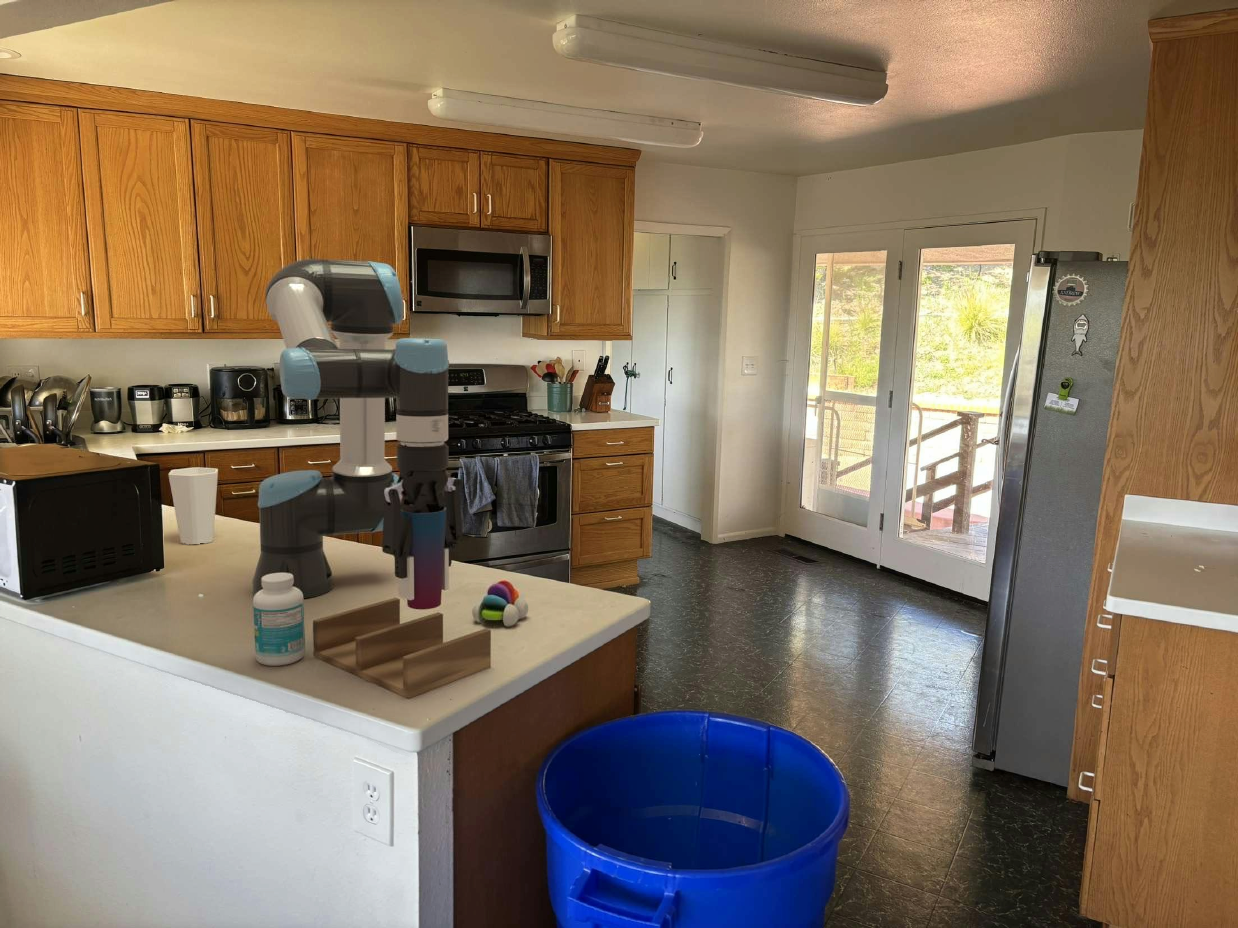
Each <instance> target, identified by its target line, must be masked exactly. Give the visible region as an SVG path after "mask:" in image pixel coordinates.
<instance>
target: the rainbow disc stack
mask: <svg viewBox="0 0 1238 928" xmlns="http://www.w3.org/2000/svg"><path fill="white" fill-rule="evenodd" d="M486 594H487V595H485V596H484V597H483V599H482V600H479V601H478V602H475V604H474V605H473V607H472V610H471V611H472V612H471V615H472V617H473V619H474V620H475V622H477V623H479V624H482V623H484V622H485V621H486V620H489V621H500V620H502V621H503V625H504V626H505V627H507V628H508V627H511V626H515V625H516V623H517V622H518V620H521V619H524V618H525V617H526V616H527V614H528V612H529V605H528V603H527V601H526V599H524V598H522V597H519V596H520V594H519V591H518V590H517V589H516V588H514V585H513V584H512V583H511V582H510V581H508V580H499V581H498V582H496V583H493V584H492V585H490V586H489V588H488V589H487V591H486Z"/></svg>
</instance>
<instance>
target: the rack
mask: <svg viewBox="0 0 1238 928" xmlns="http://www.w3.org/2000/svg"><path fill="white" fill-rule="evenodd" d="M400 601H401V600H400V598H397V597H393V598H389V599H386V600H381V601H378V602H374V603H371V604H367V605H363V606H359V607H357V608H353V609H349V610H345V611H342V612H339V613H334V614H331V615H326V616H324V617H320V618H317V619H313V620H312V633H313V635H312V636H313V637H312V638H313V640H312V641H313V657H314V658H317V659H319V660H322V661H324V662H326V663H328V664H330V665H333V666H335V667H338V668H339V669H342V670H344V671H346V672H348V673H350V674H353V675H355V676H357V677H360V678H362V679H364V680H366V681H368V682H371V683H373V684H374V685H377V686H379V687H382V688H384V689H386V690H389V691H391V692H392V693H395V694H397V695H399V696H401V697H403V698H406V699H411V698H414V697H416V696H419V695H421V694H424V693H427V692H429V691H432V690H434V689H437V688H439V687H442V686H445V685H447V684H450V683H451V682H454V681H457V680H459V679H462V678H466V677H467V676H470V675H473V674H475V673H478V672H480V671H483V670H486V669H487V668H491V667H492V664H491V663H492V661H491V660H492V659H491V657H492V656H491V655H492V654H491V652H492V638H491V637H492V631H491V629H488V628H482V629H480V630H477V631H474V632H471V633H468V634H466V635H463V636H459V637H457V638H454V639H450V640H448V641H445V642H444V613H441V612H435V613H432V614H428V615H424V616H422V617H418V618H415V619H412V620H409V621H405V622H402V623H401V610H400V609H401V605H400V604H401V603H400Z"/></svg>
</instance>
